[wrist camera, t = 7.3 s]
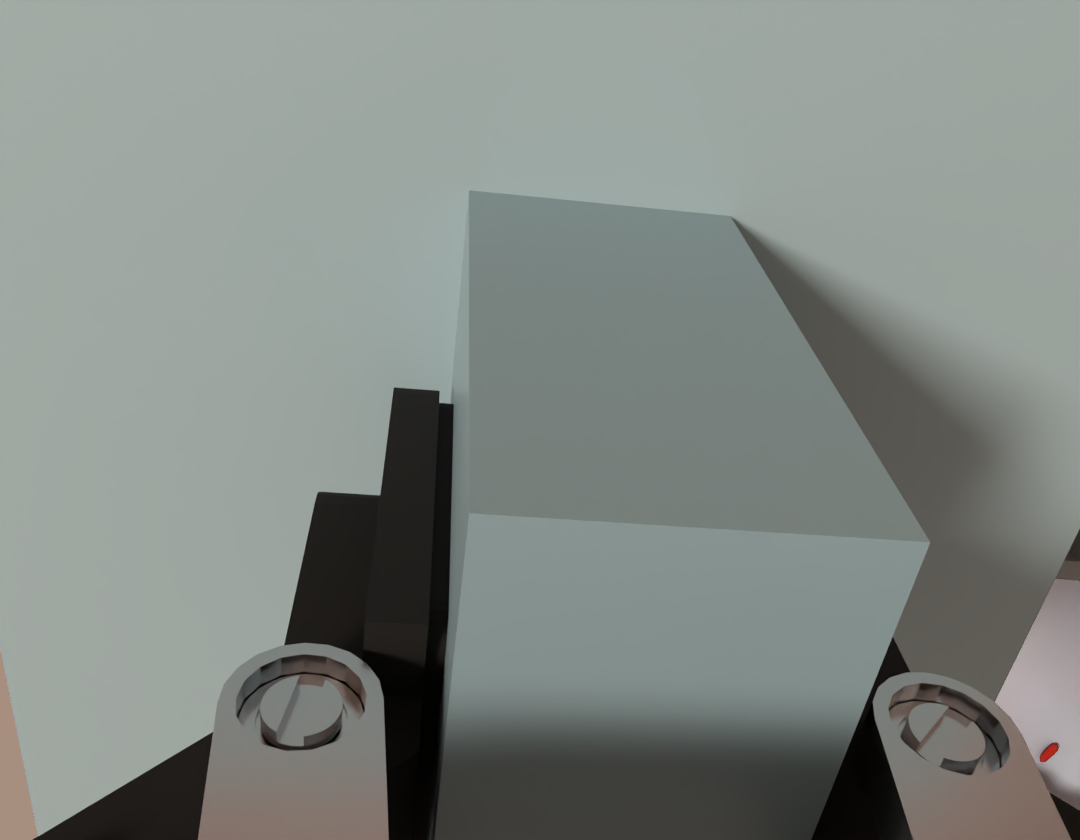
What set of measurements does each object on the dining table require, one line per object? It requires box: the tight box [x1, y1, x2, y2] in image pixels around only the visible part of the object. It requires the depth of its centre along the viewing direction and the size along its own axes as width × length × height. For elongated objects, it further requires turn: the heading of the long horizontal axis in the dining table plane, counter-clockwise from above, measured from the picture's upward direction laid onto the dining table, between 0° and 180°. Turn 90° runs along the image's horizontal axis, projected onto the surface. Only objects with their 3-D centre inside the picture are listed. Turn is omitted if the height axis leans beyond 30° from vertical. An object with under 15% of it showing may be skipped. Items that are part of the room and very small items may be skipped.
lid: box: [0, 0, 1080, 840], centre depth 12 cm, size 15×19×8 cm
